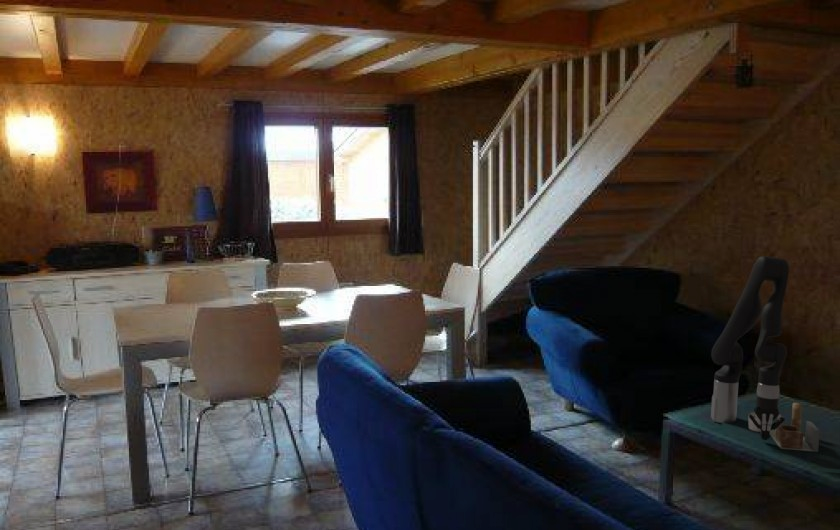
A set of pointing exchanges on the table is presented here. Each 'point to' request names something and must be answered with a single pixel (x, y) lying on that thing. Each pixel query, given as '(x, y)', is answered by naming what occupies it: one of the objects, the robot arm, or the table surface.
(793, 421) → the dowel
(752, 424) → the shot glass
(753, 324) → the robot arm
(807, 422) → the wall
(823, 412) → the table surface
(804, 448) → the board
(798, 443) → the wooden open box
